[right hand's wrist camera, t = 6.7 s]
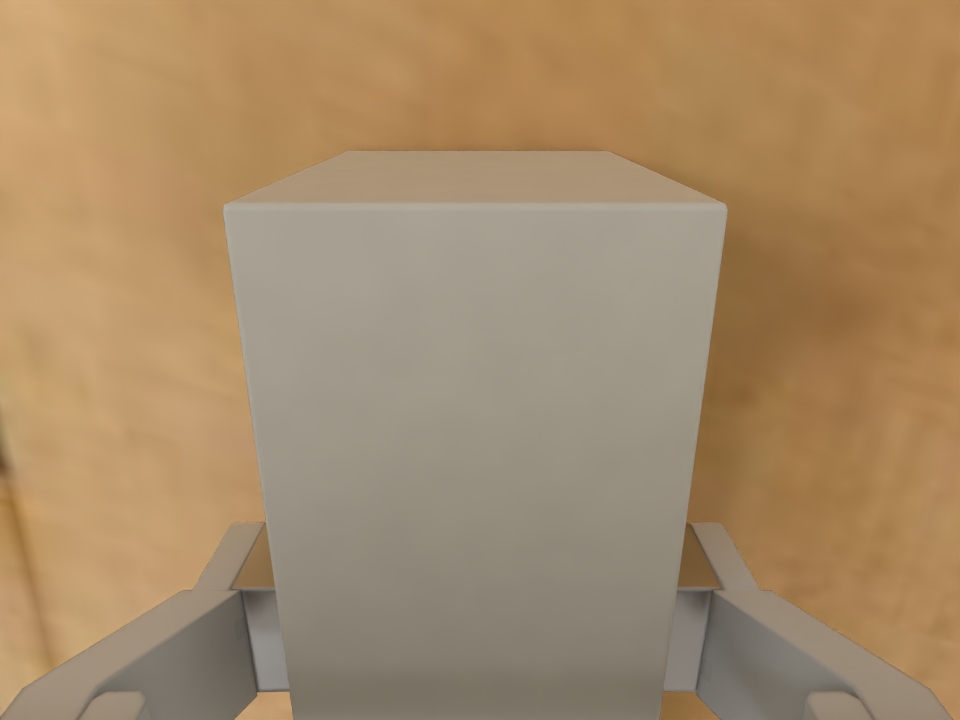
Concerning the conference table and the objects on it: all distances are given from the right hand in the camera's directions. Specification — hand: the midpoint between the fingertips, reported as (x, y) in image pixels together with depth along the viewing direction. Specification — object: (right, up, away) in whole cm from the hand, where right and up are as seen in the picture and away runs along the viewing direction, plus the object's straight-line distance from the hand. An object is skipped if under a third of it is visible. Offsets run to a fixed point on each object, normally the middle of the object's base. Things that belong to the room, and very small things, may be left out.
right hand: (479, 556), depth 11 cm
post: (0, -18, +11) cm, 21 cm away
